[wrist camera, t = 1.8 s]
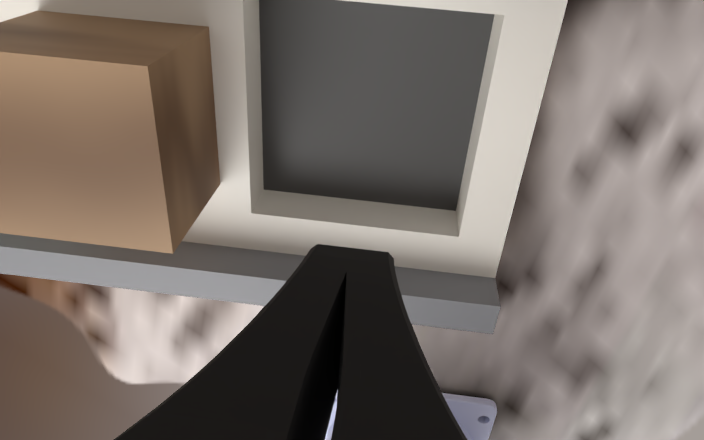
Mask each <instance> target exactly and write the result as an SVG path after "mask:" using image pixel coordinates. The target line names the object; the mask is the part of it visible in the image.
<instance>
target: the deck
mask: <svg viewBox="0 0 704 440" xmlns="http://www.w3.org/2000/svg"><path fill="white" fill-rule="evenodd" d="M567 2H568V0H0V22H3V21H6V20H9V19H12V18H16V17H19V16H22V15H25V14H28V13H31V12H35V11H49V12H59V13H70V14H81V15H91V16H102V17H112V18H123V19H134V20H144V21H155V22H165V23H176V24H187V25H197V26H208V27H209V34H210V48H211V62H212V75H213V89H214V103H215V117H216V131H217V144H218V158H219V172H220V185H219V187H218V188H217V190H216V191H215V193H214V194H213V196H212V197H211V199H210V200H209V201H208V203H207V204H206V206H205V207H204V209H203V210H202V212H201V213H200V215H199V216H198V218H197V219H196V221H195V222H194V224H193V225H192V226H191V228H190V229H189V231H188V232H187V234H186V235H185V237H184V238H183V240H182V241H181V243H180V244H179V246H178V247H177V249H176V250H175V251H174V253H173V254H172V253H163V252H155V251H146V250H138V249H130V248H121V247H113V246H105V245H96V244H88V243H79V242H71V241H63V240H54V239H46V238H38V237H29V236H21V235H12V234H4V233H0V273H2V274H10V275H19V276H27V277H35V278H43V279H51V280H59V281H67V282H75V283H83V284H91V285H99V286H107V287H115V288H123V289H132V290H140V291H148V292H156V293H164V294H172V295H180V296H188V297H196V298H204V299H212V300H220V301H228V302H237V303H245V304H253V305H261V306H265V305H266V304H267V303H268V302H269V301H270V300H271V299H272V298H273V297H274V295H275V294H276V293H277V292H278V291H279V290H280V288H281V287H282V286H283V285H284V284H285V282H286V281H287V280H288V279H289V278H290V276H291V275H292V274H293V273H294V271H295V270H296V269H297V267H298V266H299V265H300V263H301V262H302V261H303V259H304V258H305V256H306V255H307V254H308V252H309V251H310V249H311V248H312V247H314V246H315V245H317V244H322V245H331V246H340V247H348V248H357V249H365V250H374V251H383V252H389V254H390V255H391V256H392V257H393V258H394V266H395V272H396V277H397V281H398V285H399V289H400V292H401V295H402V299H403V302H404V305H405V308H406V311H407V314H408V317H409V319H410V322H411V324H414V325H422V326H430V327H438V328H446V329H455V330H463V331H471V332H479V333H487V334H493V332H494V329H495V325H496V322H497V318H498V314H499V311H500V307H501V306H500V301H499V296H498V291H497V285H496V280H495V277H496V273H497V269H498V265H499V261H500V258H501V254H502V250H503V246H504V242H505V238H506V235H507V231H508V227H509V223H510V219H511V216H512V212H513V208H514V204H515V200H516V197H517V193H518V189H519V185H520V181H521V177H522V174H523V170H524V166H525V162H526V158H527V155H528V151H529V147H530V143H531V139H532V135H533V132H534V128H535V124H536V120H537V116H538V113H539V109H540V105H541V101H542V97H543V94H544V90H545V86H546V82H547V78H548V74H549V71H550V67H551V63H552V59H553V55H554V52H555V48H556V44H557V40H558V36H559V33H560V29H561V25H562V21H563V17H564V13H565V10H566V6H567Z"/></svg>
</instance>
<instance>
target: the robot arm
mask: <svg viewBox="0 0 704 440" xmlns="http://www.w3.org/2000/svg"><path fill="white" fill-rule="evenodd" d="M496 415H497V407H496V404H495V402H494V401H492V400H490V399H486V398H478V397H471V396H463V395H455V394H448V393H442V392H441V390H440V388H439V386H438V384H437V382H436V380H435V378H434V376H433V374H432V372H431V370H430V368H429V365H428V363H427V361H426V359H425V356H424V354H423V352H422V350H421V347H420V345H419V342H418V340H417V337H416V335H415V332H414V330H413V327H412V324H411V322H410V319H409V317H408V314H407V311H406V308H405V305H404V302H403V299H402V295H401V292H400V289H399V285H398V281H397V277H396V272H395V266H394V258H393V257H392V256H391V255H390V254H389V252H383V251H374V250H365V249H357V248H348V247H340V246H331V245H322V244H317V245H315V246H314V247H312V248H311V249H310V251H309V252H308V254H307V255H306V256H305V258H304V259H303V261H302V262H301V263H300V265H299V266H298V267H297V269H296V270H295V271H294V273H293V274H292V275H291V276H290V278H289V279H288V280H287V281H286V282H285V284H284V285H283V286H282V287H281V288H280V290H279V291H278V292H277V293H276V294H275V295H274V297H273V298H272V299H271V300H270V301H269V302H268V303H267V304H266V305H265V307H264V308H263V309H262V310H261V311H260V312H259V313H258V314H257V316H256V317H255V318H254V319H253V320H252V321H251V322H250V323H249V324H248V325H247V326H246V327H245V328H244V329H243V330H242V331H241V332H240V333H239V334H238V335H237V336H236V337H235V338H234V339H233V340H232V341H231V342H230V343H229V344H228V345H227V346H226V347H225V348H224V349H223V350H222V351H221V352H220V353H219V354H218V355H217V356H216V357H215V358H214V359H212V360H211V361H210V362H209V363H208V364H207V365H206V366H205V367H204V368H203V369H201V370H200V371H199V372H198V373H197V374H196V375H195V376H194V377H192V378H191V379H190V380H189V381H188V382H187V383H186V384H184V385H183V386H182V387H181V388H180V389H178V390H177V391H176V392H175V393H173V394H172V395H171V396H170V397H169V398H167V399H166V400H165V401H164V402H163V403H161V404H160V405H159V406H158V407H156V408H155V409H154V410H152V411H151V412H150V413H148V414H147V415H146V416H145V417H143V418H142V419H141V420H139V421H138V422H137V423H135V424H134V425H133V426H132V427H130V428H129V429H127V430H126V431H125V432H123V433H122V434H121V435H120V436H118V437H117V438H116V439H114V440H489V437H490V433H491V430H492V427H493V424H494V421H495V418H496Z"/></svg>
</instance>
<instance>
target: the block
mask: <svg viewBox="0 0 704 440" xmlns="http://www.w3.org/2000/svg"><path fill="white" fill-rule="evenodd" d="M219 185H220V172H219V158H218V144H217V131H216V117H215V103H214V89H213V75H212V62H211V48H210V34H209V27H208V26H197V25H187V24H176V23H165V22H155V21H144V20H134V19H123V18H112V17H102V16H91V15H81V14H70V13H59V12H49V11H35V12H31V13H28V14H25V15H22V16H19V17H16V18H12V19H9V20H6V21H3V22H0V233H4V234H12V235H21V236H29V237H38V238H46V239H54V240H63V241H71V242H79V243H88V244H96V245H105V246H113V247H121V248H130V249H138V250H146V251H155V252H163V253H172V254H173V253H174V251H175V250H176V249H177V247H178V246H179V244H180V243H181V241H182V240H183V238H184V237H185V235H186V234H187V232H188V231H189V229H190V228H191V226H192V225H193V224H194V222H195V221H196V219H197V218H198V216H199V215H200V213H201V212H202V210H203V209H204V207H205V206H206V204H207V203H208V201H209V200H210V199H211V197H212V196H213V194H214V193H215V191H216V190H217V188H218V187H219Z"/></svg>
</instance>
